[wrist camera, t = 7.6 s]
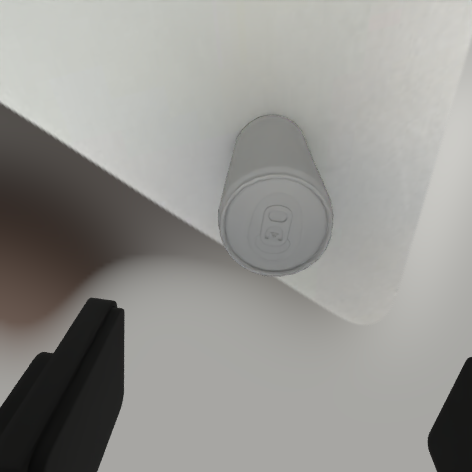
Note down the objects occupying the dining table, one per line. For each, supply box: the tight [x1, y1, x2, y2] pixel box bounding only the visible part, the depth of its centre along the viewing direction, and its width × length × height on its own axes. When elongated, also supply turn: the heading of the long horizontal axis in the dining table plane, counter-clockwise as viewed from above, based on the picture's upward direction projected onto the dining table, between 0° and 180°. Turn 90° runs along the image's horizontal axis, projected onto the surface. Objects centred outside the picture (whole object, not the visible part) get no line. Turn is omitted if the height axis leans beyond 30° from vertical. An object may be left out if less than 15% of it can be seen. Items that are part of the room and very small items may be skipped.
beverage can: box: [218, 115, 333, 276], centre depth 22 cm, size 5×5×12 cm
